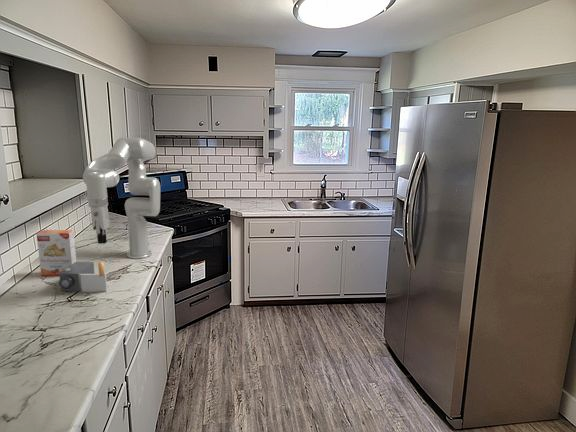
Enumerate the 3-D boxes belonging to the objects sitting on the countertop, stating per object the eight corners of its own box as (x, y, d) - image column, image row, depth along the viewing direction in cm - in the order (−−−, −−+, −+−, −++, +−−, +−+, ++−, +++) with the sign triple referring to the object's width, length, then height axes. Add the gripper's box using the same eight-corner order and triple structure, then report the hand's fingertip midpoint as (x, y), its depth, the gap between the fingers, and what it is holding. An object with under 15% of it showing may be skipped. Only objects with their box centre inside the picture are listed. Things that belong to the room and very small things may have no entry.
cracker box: (40, 276, 186) (35, 233, 181) (46, 271, 192) (41, 229, 187) (73, 275, 188) (68, 232, 183) (77, 271, 194) (73, 229, 189)
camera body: (77, 278, 186) (75, 260, 184) (94, 278, 186) (93, 260, 184) (57, 293, 170) (55, 273, 168) (76, 293, 170) (74, 274, 168)
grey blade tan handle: (107, 290, 174) (104, 261, 171) (105, 292, 171) (103, 263, 168) (80, 290, 172) (77, 261, 169) (78, 293, 170) (75, 263, 167)
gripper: (103, 206, 164) (107, 248, 169) (111, 197, 178) (115, 236, 183) (83, 206, 162) (88, 249, 167) (93, 197, 176) (97, 237, 181)
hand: (102, 242), depth 175 cm, fingers closed
